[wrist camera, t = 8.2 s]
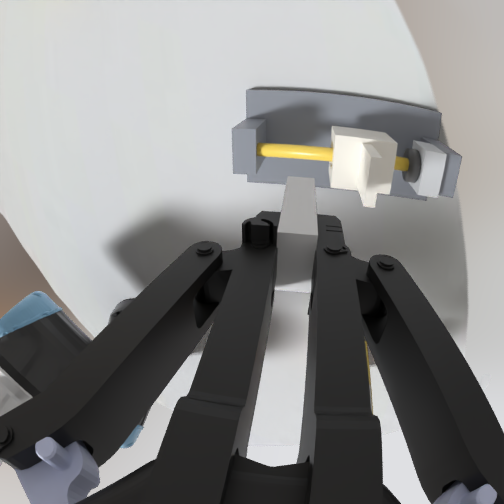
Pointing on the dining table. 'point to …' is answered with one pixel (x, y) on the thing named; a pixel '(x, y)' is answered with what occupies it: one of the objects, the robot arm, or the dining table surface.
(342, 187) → the cream slider carriage
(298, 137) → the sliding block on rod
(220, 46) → the dining table surface
